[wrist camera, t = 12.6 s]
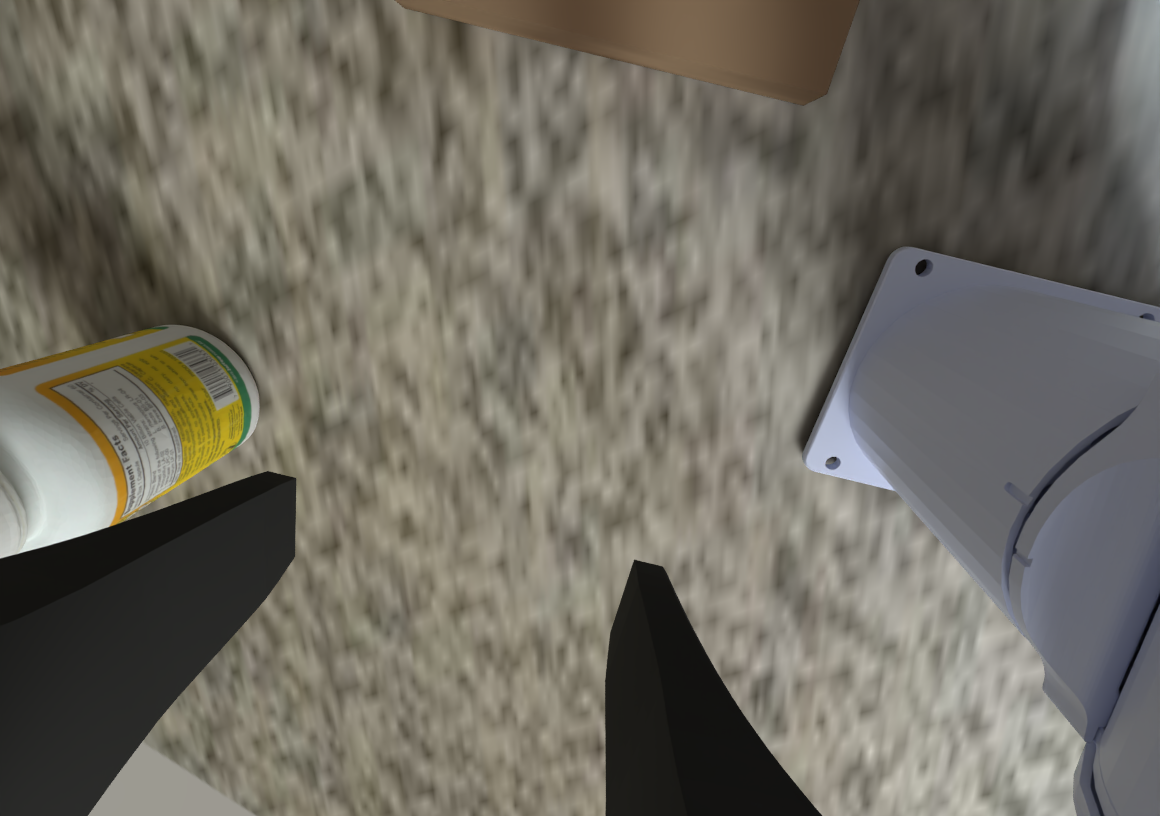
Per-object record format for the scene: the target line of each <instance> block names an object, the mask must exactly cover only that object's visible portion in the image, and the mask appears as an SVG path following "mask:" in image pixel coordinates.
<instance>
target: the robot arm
mask: <svg viewBox="0 0 1160 816" xmlns="http://www.w3.org/2000/svg"><path fill="white" fill-rule="evenodd" d="M923 259H925V260H926V263H927V266H926V269H925V270H924V272H923V273H921V274H919V275H916V272H915V267H916V265H917V264H918V262H919V261H921V260H923ZM1141 315H1143V318H1139V316H1141ZM830 457H837V459H836V461H835V462H834V463H832V464H825V463H826V460H827V459H828V458H830ZM802 459H803V462H804V464H805V465H806V466H807V467H808V469H810V470H812V471H815V472H819V473H823V474H827V475H832V476H836V477H840V478H844V479H848V480H852V481H856V482H860V483H865V484H869V485H873V486H877V487H881V488H885V489H889V490H893V491H896V492H897V493H898V494H899V495H900V497H901V498H902V499H903V500H904V501H905V502H906V503H907V504H908V506H909V507H910V508H911V509H912V510H913V511H914V512H915V514H916V515H917V516H918V517H919V518H920V519H921V520H922V521H923V523H924V524H925V525H926V526H927V527H928V528H929V529H930V531H931V532H932V533H933V534H934V535H935V536H936V537H937V538H938V540H939V541H940V542H941V543H942V544H943V545H944V546H945V548H946V549H947V550H948V551H949V552H950V553H951V554H952V555H953V557H954V558H955V559H956V560H957V561H958V562H959V563H960V565H961V566H962V567H963V568H964V569H965V570H966V571H967V572H968V574H969V575H970V576H971V577H972V578H973V579H974V580H975V582H976V583H977V584H978V585H979V586H980V587H981V588H982V589H983V591H984V592H985V593H986V594H987V595H988V596H989V597H990V599H991V600H992V601H993V602H994V603H995V604H996V605H997V606H998V608H999V609H1000V610H1001V611H1002V612H1003V613H1004V614H1005V616H1006V617H1007V618H1008V619H1009V620H1010V621H1011V622H1012V623H1013V625H1014V626H1015V627H1016V628H1017V629H1018V630H1019V631H1020V633H1021V634H1022V635H1023V636H1024V637H1026V638H1027V639H1028V641H1029V642H1030V643H1031V645H1032V646H1033V647H1034V649H1035V650H1036V651H1037V653H1038V654H1039V655H1040V657H1041V659H1042V661H1043V664H1044V670H1045V678H1044V683H1043V691H1044V692H1045V693H1046V695H1047V696H1048V697H1049V698H1050V699H1051V701H1052V702H1053V703H1054V704H1055V705H1056V707H1057V708H1058V709H1059V710H1060V712H1061V713H1062V714H1063V715H1064V716H1065V718H1066V719H1067V720H1068V721H1069V722H1070V724H1071V725H1072V726H1073V727H1074V728H1075V730H1076V731H1077V732H1078V733H1079V735H1080V736H1081V737H1082V738H1083V739H1084V741H1085V742H1087V743H1086V745H1085V747H1084V749H1083V752H1082V754H1081V756H1080V759H1079V762H1078V765H1077V767H1076V770H1075V773H1074V785H1073V800H1074V805H1075V810H1076V814H1077V816H1160V307H1157V306H1153V305H1149V304H1145V303H1141V302H1136V301H1132V300H1128V299H1124V298H1120V297H1116V296H1112V295H1108V294H1104V293H1099V292H1095V291H1091V290H1087V289H1083V288H1079V287H1075V286H1071V285H1067V284H1063V283H1058V282H1054V281H1050V280H1046V279H1042V278H1038V277H1034V276H1030V275H1026V274H1021V273H1017V272H1013V271H1009V270H1005V269H1001V268H997V267H993V266H989V265H984V264H980V263H976V262H972V261H968V260H964V259H960V258H956V257H952V256H948V255H943V254H939V253H935V252H931V251H927V250H923V249H919V248H915V247H906V246H904V247H901V248H898V249H896V250H895V251H894V252H892V253H891V255H890V256H889V258H888V259H887V261H886V264H885V266H884V268H883V271H882V273H881V275H880V277H879V280H878V282H877V284H876V287H875V289H874V291H873V293H872V296H871V298H870V300H869V303H868V305H867V307H866V309H865V312H864V314H863V316H862V319H861V321H860V323H859V325H858V328H857V330H856V332H855V335H854V337H853V339H852V341H851V344H850V346H849V348H848V351H847V353H846V355H845V357H844V360H843V362H842V364H841V367H840V369H839V371H838V373H837V376H836V378H835V380H834V382H833V385H832V387H831V389H830V392H829V394H828V396H827V398H826V401H825V403H824V405H823V408H822V410H821V412H820V414H819V417H818V419H817V421H816V424H815V426H814V428H813V430H812V433H811V435H810V437H809V440H808V442H807V444H806V446H805V449H804V451H803V455H802ZM295 522H296V478H294V477H290V476H285V475H281V474H277V473H273V472H269V471H267V472H264V473H260V474H257V475H254V476H251V477H248V478H245V479H242V480H239V481H236V482H234V483H231V484H228V485H226V486H223V487H220V488H217V489H215V490H212V491H209V492H207V493H204V494H201V495H199V496H196V497H193V498H190V499H188V500H185V501H182V502H179V503H177V504H174V505H171V506H168V507H166V508H163V509H160V510H157V511H155V512H152V513H149V514H146V515H143V516H140V517H137V518H134V519H131V520H128V521H125V522H122V523H119V524H116V525H113V526H110V527H107V528H104V529H101V530H98V531H95V532H92V533H89V534H86V535H82V536H79V537H76V538H72V539H69V540H66V541H62V542H59V543H55V544H52V545H48V546H45V547H41V548H37V549H34V550H30V551H26V552H22V553H18V554H15V555H11V556H7V557H3V558H0V816H88V815H89V813H90V812H91V810H92V809H93V808H94V806H95V805H96V803H97V802H98V801H99V799H100V798H101V796H102V795H103V794H104V792H105V791H106V789H107V788H108V787H109V785H110V784H111V782H112V781H113V780H114V778H115V777H116V776H117V774H118V773H119V772H120V770H121V769H122V768H123V766H124V765H125V764H126V762H127V761H128V760H129V758H130V757H131V756H132V754H133V753H134V752H135V750H136V749H137V748H138V746H139V745H140V744H141V743H142V741H143V740H144V739H145V737H146V736H147V735H148V733H149V732H150V731H151V729H152V728H153V727H154V725H155V724H156V723H157V721H158V720H159V719H160V718H161V716H162V715H163V714H164V713H165V712H166V711H167V709H168V708H169V707H170V706H171V705H172V703H173V702H174V701H175V700H176V699H177V697H178V696H179V695H180V694H181V693H182V692H183V691H184V690H185V688H186V687H187V686H188V685H189V684H190V683H191V682H192V681H193V680H194V679H195V677H196V676H197V675H198V674H199V673H200V672H201V671H202V670H203V669H204V667H205V666H206V665H207V664H208V663H209V662H210V661H211V660H212V659H213V657H214V656H215V655H216V654H217V653H218V652H219V651H220V650H221V649H222V648H223V646H224V645H225V644H226V643H227V642H228V641H229V640H230V639H231V638H232V636H233V635H234V634H235V633H236V632H237V631H238V630H239V629H240V628H241V626H242V625H243V624H244V623H245V622H246V621H247V620H248V619H249V617H250V616H251V615H252V614H253V613H254V612H255V611H256V610H257V608H258V607H259V606H260V605H261V604H262V603H263V601H264V600H265V599H266V598H267V596H268V595H269V594H270V592H271V591H272V589H273V588H274V587H275V585H276V584H277V582H278V581H279V580H280V578H281V577H282V575H283V574H284V572H285V571H286V569H287V568H288V566H289V565H290V563H291V562H292V560H293V559H294V557H295ZM605 729H606V816H822V815H821V814H820V813H819V812H818V810H817V809H816V808H815V807H814V806H813V805H812V803H811V802H810V801H809V800H808V798H807V797H806V796H805V795H804V794H803V792H802V791H801V790H800V789H799V787H798V786H797V785H796V784H795V783H794V781H793V780H792V779H791V778H790V776H789V775H788V774H787V773H786V772H785V770H784V769H783V768H782V767H781V765H780V764H779V763H778V761H777V760H776V759H775V757H774V756H773V755H772V754H771V752H770V751H769V750H768V748H767V747H766V746H765V744H764V743H763V741H762V740H761V739H760V737H759V736H758V734H757V733H756V732H755V730H754V729H753V727H752V726H751V724H750V723H749V722H748V720H747V719H746V717H745V716H744V715H743V713H742V712H741V710H740V709H739V707H738V705H737V704H736V702H735V701H734V699H733V698H732V696H731V694H730V693H729V691H728V690H727V688H726V686H725V685H724V683H723V681H722V680H721V678H720V676H719V675H718V673H717V671H716V670H715V668H714V666H713V664H712V663H711V661H710V659H709V657H708V656H707V654H706V652H705V650H704V648H703V646H702V644H701V643H700V641H699V639H698V637H697V635H696V633H695V631H694V629H693V627H692V626H691V624H690V622H689V620H688V618H687V616H686V613H685V611H684V609H683V607H682V605H681V603H680V601H679V599H678V597H677V595H676V593H675V590H674V588H673V586H672V584H671V582H670V579H669V577H668V575H667V573H666V571H665V569H664V568H663V567H662V566H658V565H654V564H650V563H646V562H641V561H637V560H634V562H633V565H632V568H631V571H630V574H629V577H628V580H627V583H626V587H625V590H624V593H623V596H622V599H621V602H620V605H619V608H618V611H617V614H616V617H615V620H614V623H613V626H612V629H611V632H610V641H609V650H608V659H607V669H606V679H605Z"/></svg>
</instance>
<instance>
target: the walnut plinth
mask: <svg viewBox="0 0 1160 816" xmlns="http://www.w3.org/2000/svg"><path fill="white" fill-rule="evenodd" d="M395 1H396V2H397V3H399V4H400V5H401V6H402V7H404V8H406V9H410V10H414V11H418V12H422V13H426V14H431V15H435V16H439V17H443V18H447V19H451V20H455V21H459V22H463V23H467V24H472V25H476V26H480V27H484V28H488V29H492V30H496V31H500V32H504V33H508V34H513V35H517V36H521V37H525V38H529V39H533V40H537V41H541V42H545V43H549V44H554V45H558V46H562V47H566V48H570V49H574V50H578V51H582V52H586V53H590V54H594V55H599V56H603V57H607V58H611V59H615V60H619V61H623V62H627V63H631V64H635V65H640V66H644V67H648V68H652V69H656V70H660V71H664V72H668V73H672V74H676V75H681V76H685V77H689V78H693V79H697V80H701V81H705V82H709V83H713V84H717V85H722V86H726V87H730V88H734V89H738V90H742V91H746V92H750V93H754V94H758V95H762V96H767V97H771V98H775V99H779V100H783V101H787V102H791V103H795V104H799V105H803V106H804V105H806V104H808V103H810V102H812V101H814V100H816V99H818V98H820V97H822V96H824V95H826V94H827V92H828V89H829V86H830V83H831V80H832V78H833V75H834V72H835V69H836V66H837V63H838V61H839V58H840V55H841V52H842V49H843V46H844V44H845V41H846V38H847V35H848V32H849V29H850V27H851V24H852V21H853V18H854V15H855V12H856V10H857V7H858V4H859V1H860V0H395Z"/></svg>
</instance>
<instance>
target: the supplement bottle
mask: <svg viewBox="0 0 1160 816" xmlns="http://www.w3.org/2000/svg"><path fill="white" fill-rule="evenodd" d="M259 409H260V405H259V393H258V389H257V386H256V383H255V381H254V379H253V377H252V374H251V373H250V371H249V369H248V368H247V366H246V365H245V363H244V362H243V361H242V359H241V358H240V357H239V356H238V355H237V354H236V353H235V352H234V351H233V350H232V349H231V348H230V347H229V346H228V345H226V344H225V343H224V342H222V341H221V340H220V339H218V338H216V337H214V336H213V335H211V334H209V333H207V332H205V331H202V330H199V329H197V328H193V327H189V326H183V325H162V326H156V327H153V328H149V329H144V330H141V331H137V332H134V333H130V334H127V335H123V336H119V337H115V338H112V339H109V340H105V341H102V342H98V343H95V344H91V345H87V346H84V347H80V348H77V349H73V350H69V351H66V352H62V353H58V354H55V355H51V356H47V357H44V358H40V359H37V360H33V361H29V362H25V363H21V364H18V365H14V366H10V367H7V368H3V369H0V558H3V557H7V556H11V555H15V554H18V553H22V552H26V551H30V550H34V549H37V548H41V547H45V546H48V545H52V544H55V543H59V542H62V541H66V540H69V539H72V538H76V537H79V536H82V535H86V534H89V533H92V532H95V531H98V530H101V529H104V528H107V527H110V526H113V525H116V524H119V523H121V522H123V521H124V520H126V519H127V518H129V517H130V516H132V515H133V514H135V513H136V512H138V511H139V510H141V509H143V508H144V507H146V506H147V505H149V504H150V503H152V502H153V501H155V500H156V499H158V498H159V497H161V496H162V495H164V494H166V493H167V492H169V491H170V490H172V489H173V488H175V487H177V486H178V485H180V484H181V483H183V482H184V481H186V480H188V479H189V478H191V477H192V476H194V475H195V474H197V473H199V472H200V471H202V470H203V469H205V468H206V467H208V466H209V465H211V464H212V463H214V462H215V461H217V460H218V459H220V458H221V457H223V456H224V455H226V454H227V453H229V452H230V451H232V450H234V449H235V448H236V447H238V446H239V445H241V444H242V443H244V442H245V441H246V440H247V439H248V438H249V437H250V436H251V434H252V433H253V431H254V429H255V428H256V425H257V421H258V418H259Z"/></svg>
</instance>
